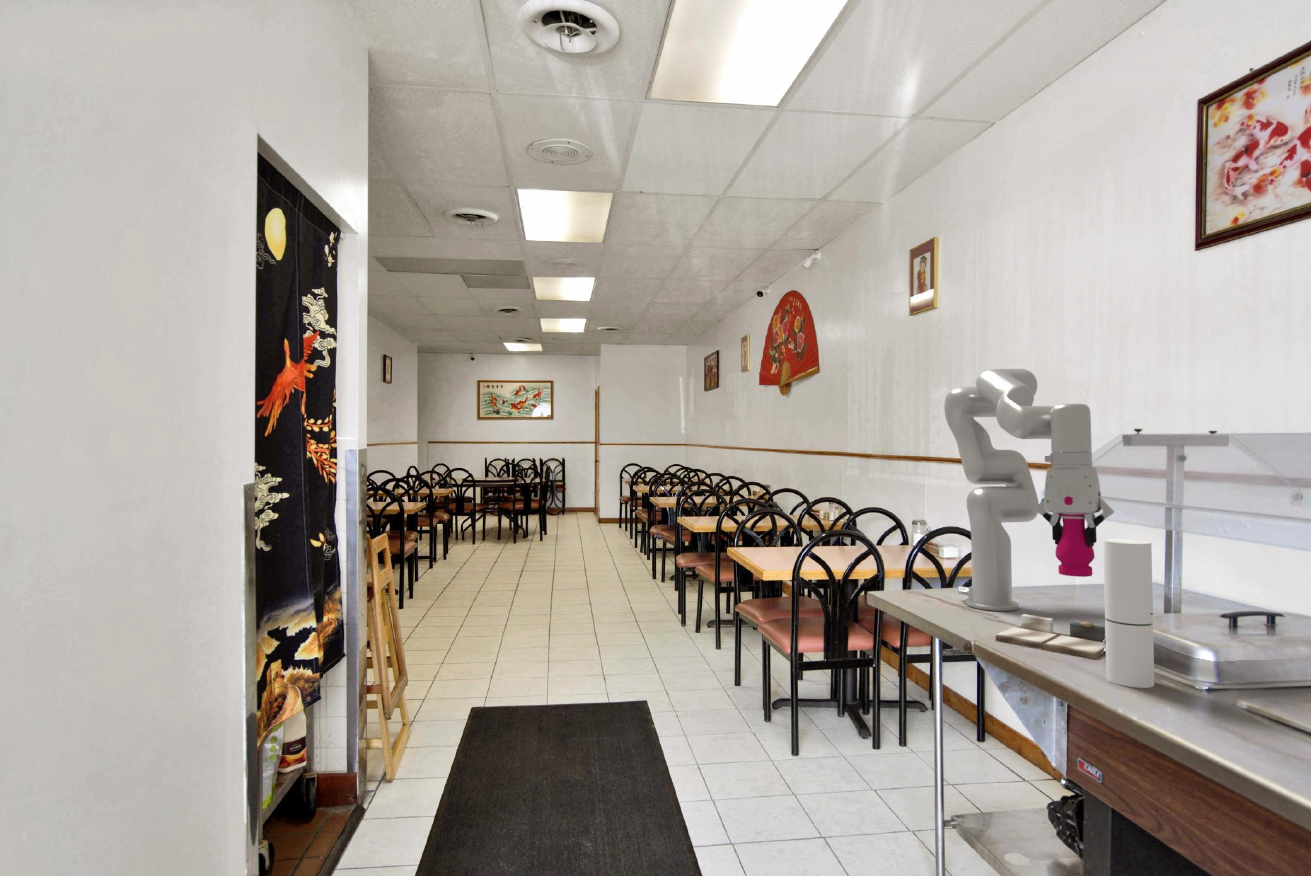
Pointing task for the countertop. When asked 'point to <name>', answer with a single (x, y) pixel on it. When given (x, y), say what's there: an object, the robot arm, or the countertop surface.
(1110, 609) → the cylindrical container
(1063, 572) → the pepper mill
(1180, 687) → the countertop surface
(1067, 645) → the board
